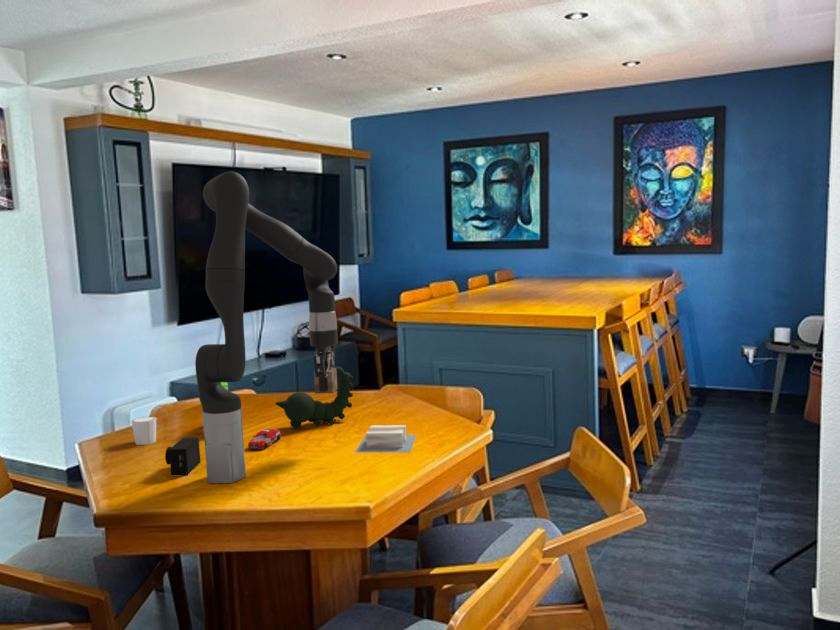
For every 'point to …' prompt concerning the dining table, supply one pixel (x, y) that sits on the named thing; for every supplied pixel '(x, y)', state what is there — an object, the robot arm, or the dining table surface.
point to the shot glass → (144, 430)
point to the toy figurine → (318, 404)
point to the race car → (264, 439)
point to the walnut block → (330, 381)
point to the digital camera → (183, 456)
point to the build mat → (406, 448)
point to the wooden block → (386, 436)
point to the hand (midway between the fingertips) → (326, 388)
